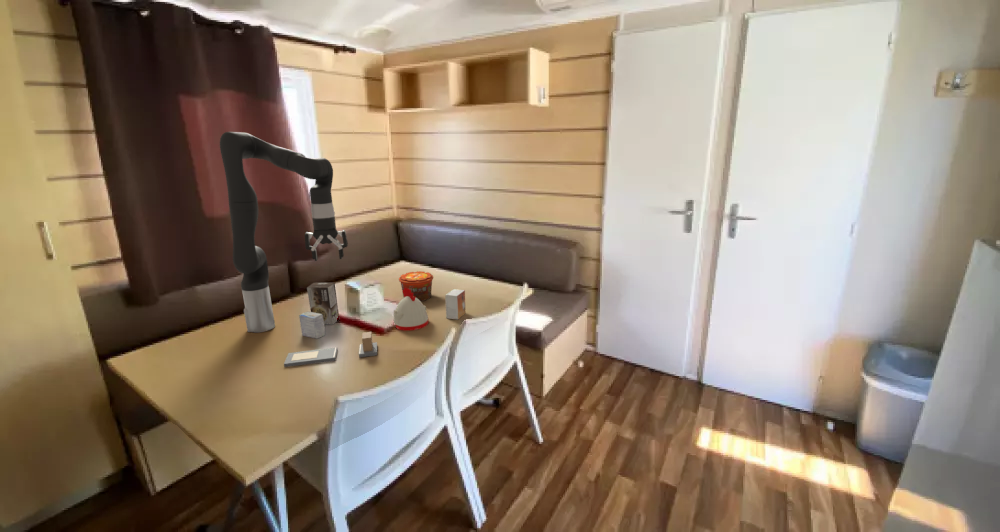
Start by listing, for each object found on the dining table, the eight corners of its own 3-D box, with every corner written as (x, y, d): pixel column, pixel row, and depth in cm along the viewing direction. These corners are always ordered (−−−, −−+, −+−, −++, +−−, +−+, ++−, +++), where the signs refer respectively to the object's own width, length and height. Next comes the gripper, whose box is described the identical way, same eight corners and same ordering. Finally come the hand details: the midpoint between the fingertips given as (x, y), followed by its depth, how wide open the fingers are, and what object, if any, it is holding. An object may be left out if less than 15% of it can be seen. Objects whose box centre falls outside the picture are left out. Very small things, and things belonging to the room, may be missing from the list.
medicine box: (325, 334, 169) (323, 313, 167) (316, 339, 165) (313, 318, 163) (311, 331, 173) (308, 310, 170) (301, 335, 169) (298, 314, 166)
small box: (458, 320, 182) (457, 296, 179) (445, 318, 184) (444, 294, 181) (466, 313, 189) (465, 290, 186) (454, 311, 191) (453, 288, 188)
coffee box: (340, 318, 184) (335, 282, 180) (332, 324, 178) (328, 287, 174) (319, 318, 185) (314, 281, 181) (311, 324, 179) (306, 286, 175)
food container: (431, 303, 201) (430, 280, 198) (396, 303, 201) (395, 281, 198) (436, 291, 216) (435, 270, 214) (404, 291, 217) (402, 270, 214)
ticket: (284, 367, 145) (283, 363, 145) (288, 356, 153) (288, 352, 152) (335, 360, 149) (335, 357, 149) (337, 350, 157) (337, 346, 156)
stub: (359, 357, 151) (357, 340, 149) (360, 347, 158) (358, 331, 157) (377, 355, 152) (375, 338, 151) (377, 345, 160) (375, 329, 158)
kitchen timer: (415, 314, 188) (413, 281, 184) (435, 323, 179) (433, 288, 175) (387, 323, 179) (384, 289, 175) (405, 333, 170) (403, 297, 165)
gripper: (300, 218, 151) (306, 263, 156) (343, 216, 155) (348, 260, 159) (303, 215, 158) (309, 258, 163) (345, 213, 162) (349, 255, 166)
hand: (328, 259), depth 161 cm, fingers open, 8 cm apart
